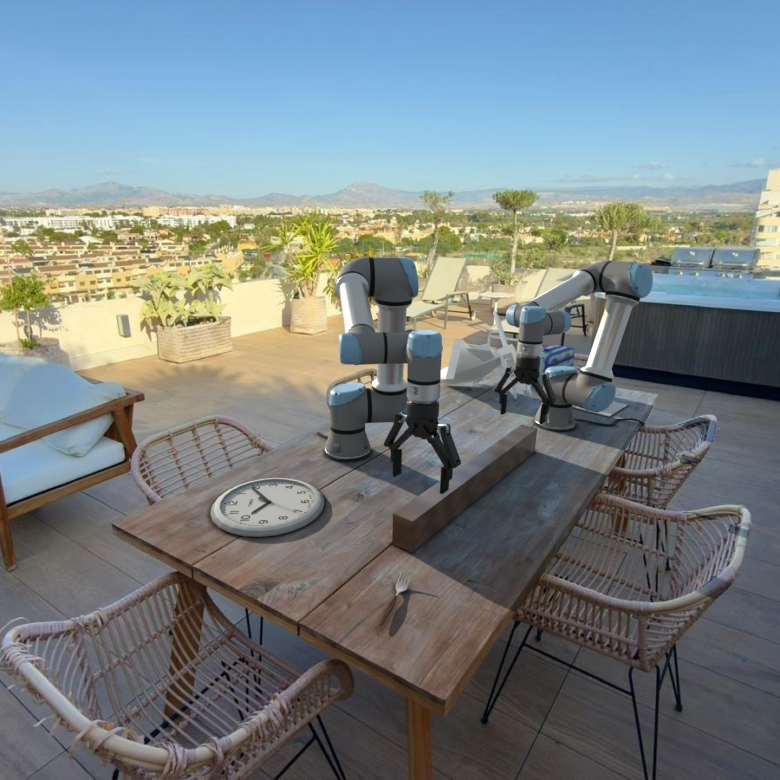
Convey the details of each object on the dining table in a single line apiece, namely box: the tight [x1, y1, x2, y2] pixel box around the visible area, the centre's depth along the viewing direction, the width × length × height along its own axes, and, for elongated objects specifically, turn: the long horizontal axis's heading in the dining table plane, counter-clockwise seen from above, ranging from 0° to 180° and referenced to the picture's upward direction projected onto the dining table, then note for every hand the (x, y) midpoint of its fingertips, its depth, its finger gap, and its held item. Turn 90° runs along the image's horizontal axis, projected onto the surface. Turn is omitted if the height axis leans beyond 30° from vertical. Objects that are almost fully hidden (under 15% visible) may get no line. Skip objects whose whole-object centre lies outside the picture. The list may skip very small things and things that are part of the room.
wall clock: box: [210, 477, 325, 538], centre depth 142 cm, size 30×2×30 cm
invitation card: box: [573, 400, 629, 418], centre depth 226 cm, size 21×1×15 cm
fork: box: [379, 570, 413, 627], centre depth 106 cm, size 3×16×2 cm, turn 160°
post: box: [391, 424, 538, 553], centre depth 152 cm, size 75×6×8 cm, turn 143°
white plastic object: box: [440, 310, 531, 400], centre depth 245 cm, size 37×45×31 cm
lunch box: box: [529, 345, 575, 393], centre depth 245 cm, size 26×11×21 cm, turn 134°
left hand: (419, 483), depth 125 cm, fingers open, 13 cm apart
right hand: (522, 418), depth 172 cm, fingers open, 13 cm apart
